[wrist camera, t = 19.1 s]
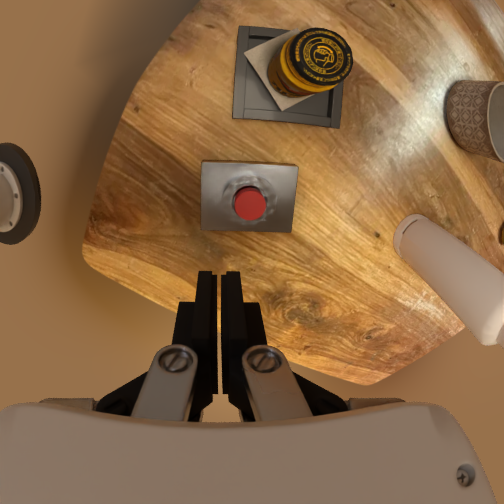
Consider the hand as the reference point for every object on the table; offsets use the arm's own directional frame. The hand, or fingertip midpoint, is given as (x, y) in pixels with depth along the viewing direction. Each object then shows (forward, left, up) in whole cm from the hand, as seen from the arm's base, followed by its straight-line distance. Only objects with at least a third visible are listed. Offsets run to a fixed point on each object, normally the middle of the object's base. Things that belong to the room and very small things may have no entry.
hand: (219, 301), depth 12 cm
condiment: (+7, +14, -24) cm, 29 cm away
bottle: (+31, -8, -28) cm, 42 cm away
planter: (+39, +15, -28) cm, 50 cm away
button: (+3, -3, -24) cm, 24 cm away
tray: (+7, +13, -27) cm, 31 cm away
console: (+3, -3, -27) cm, 28 cm away
